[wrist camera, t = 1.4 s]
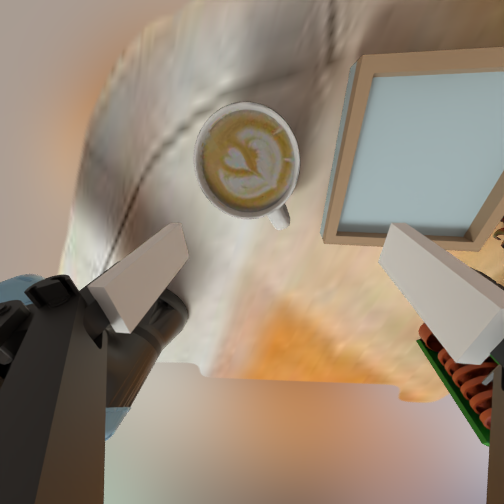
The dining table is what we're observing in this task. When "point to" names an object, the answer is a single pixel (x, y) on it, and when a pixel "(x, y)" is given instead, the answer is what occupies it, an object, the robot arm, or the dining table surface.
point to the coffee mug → (248, 162)
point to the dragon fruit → (500, 232)
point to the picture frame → (420, 149)
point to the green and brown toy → (463, 383)
